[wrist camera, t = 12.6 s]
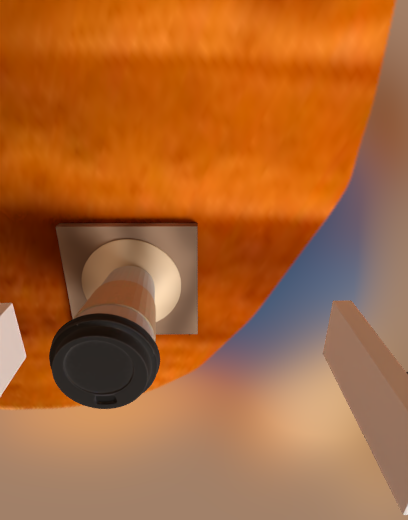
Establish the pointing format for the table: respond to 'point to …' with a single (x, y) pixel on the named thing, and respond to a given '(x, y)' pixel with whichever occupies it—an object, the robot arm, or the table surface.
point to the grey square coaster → (135, 254)
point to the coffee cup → (109, 343)
